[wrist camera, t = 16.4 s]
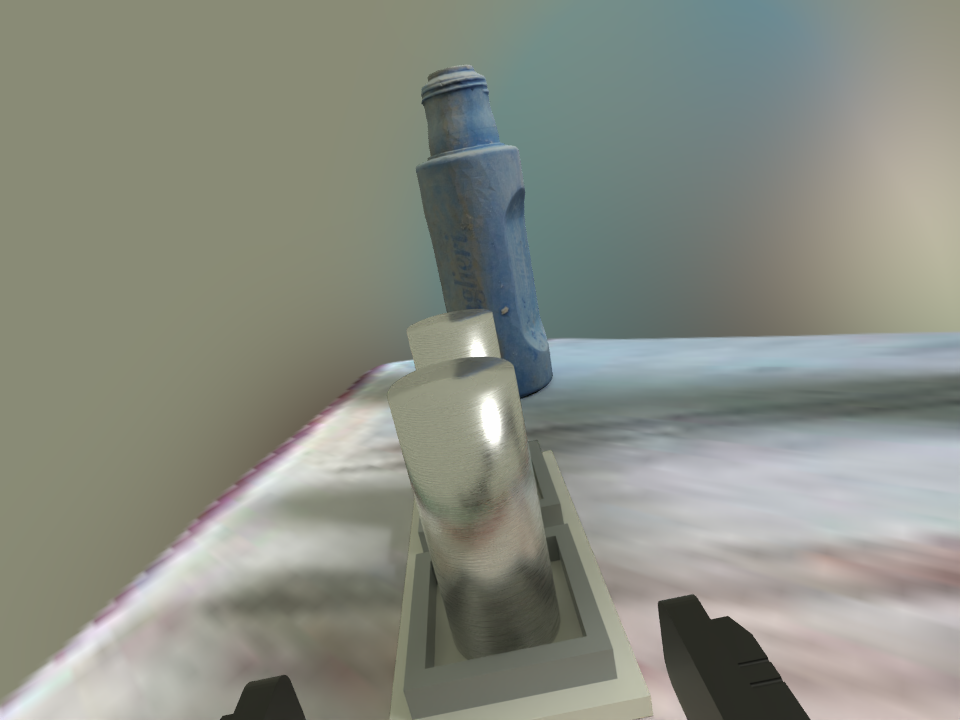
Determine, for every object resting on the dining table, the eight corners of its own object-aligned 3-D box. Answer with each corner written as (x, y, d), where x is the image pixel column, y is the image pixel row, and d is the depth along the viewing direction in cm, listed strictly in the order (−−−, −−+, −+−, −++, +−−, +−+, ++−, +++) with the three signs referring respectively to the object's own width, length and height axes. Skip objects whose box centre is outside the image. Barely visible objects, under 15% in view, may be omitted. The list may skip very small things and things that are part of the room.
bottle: (483, 370, 62) (426, 90, 53) (565, 366, 58) (518, 62, 49) (447, 404, 54) (373, 80, 45) (539, 403, 50) (478, 45, 41)
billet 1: (543, 490, 34) (510, 309, 30) (493, 534, 31) (449, 336, 27) (485, 473, 37) (449, 308, 34) (434, 512, 34) (388, 333, 31)
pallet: (653, 715, 20) (646, 664, 19) (391, 767, 20) (375, 719, 19) (553, 462, 39) (548, 431, 38) (419, 489, 39) (412, 459, 38)
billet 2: (581, 606, 24) (540, 361, 21) (514, 690, 21) (450, 417, 17) (499, 568, 28) (450, 352, 24) (430, 636, 24) (361, 398, 21)
